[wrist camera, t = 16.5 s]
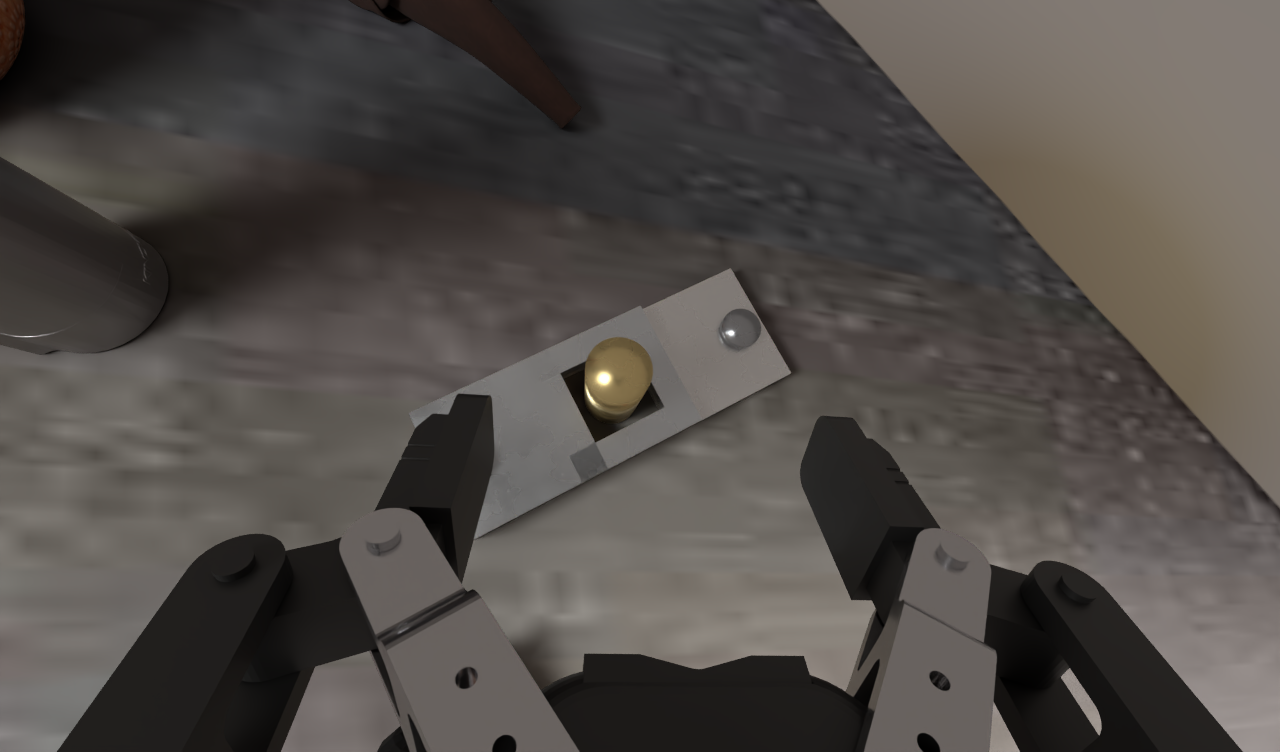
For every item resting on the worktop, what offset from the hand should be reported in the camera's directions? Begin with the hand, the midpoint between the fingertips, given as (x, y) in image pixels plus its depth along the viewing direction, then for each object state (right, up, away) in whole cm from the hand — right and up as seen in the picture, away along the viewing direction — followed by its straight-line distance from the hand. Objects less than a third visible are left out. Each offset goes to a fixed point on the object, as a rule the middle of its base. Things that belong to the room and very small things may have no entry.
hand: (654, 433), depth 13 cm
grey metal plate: (-3, 0, +27) cm, 27 cm away
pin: (-3, 0, +27) cm, 27 cm away
